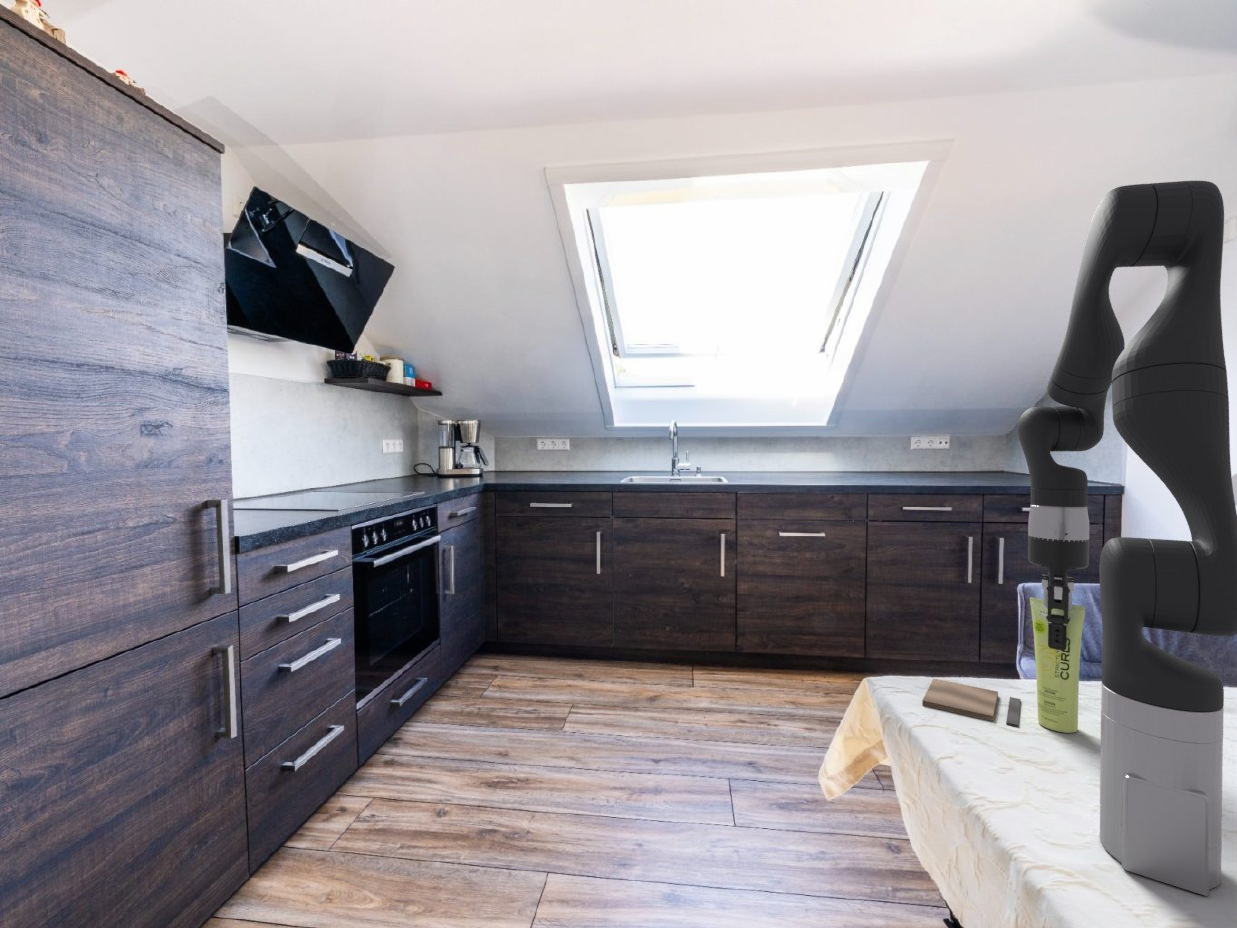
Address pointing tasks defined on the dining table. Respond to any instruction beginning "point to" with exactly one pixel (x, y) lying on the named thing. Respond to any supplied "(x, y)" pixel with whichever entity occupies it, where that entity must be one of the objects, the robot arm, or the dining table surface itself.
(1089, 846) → the dining table surface
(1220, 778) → the robot arm
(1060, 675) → the tube
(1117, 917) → the dining table surface
